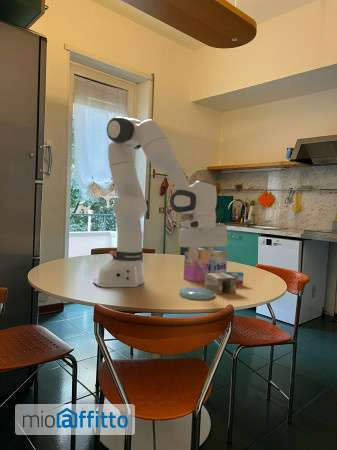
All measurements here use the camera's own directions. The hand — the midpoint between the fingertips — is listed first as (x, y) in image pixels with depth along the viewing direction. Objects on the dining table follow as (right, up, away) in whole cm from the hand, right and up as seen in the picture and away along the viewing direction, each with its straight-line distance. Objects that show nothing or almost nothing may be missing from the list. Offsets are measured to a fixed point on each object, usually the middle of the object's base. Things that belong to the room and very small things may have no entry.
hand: (202, 258), depth 123 cm
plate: (-2, -15, +4) cm, 16 cm away
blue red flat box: (+15, -15, +23) cm, 31 cm away
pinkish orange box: (-1, -1, +3) cm, 4 cm away
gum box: (+5, -14, +35) cm, 38 cm away
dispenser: (+9, -15, +12) cm, 21 cm away
